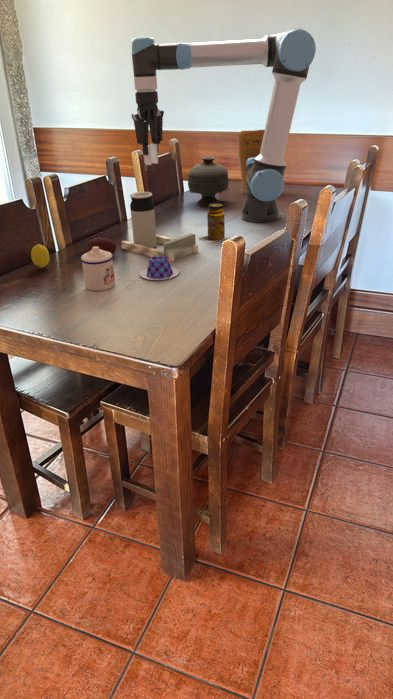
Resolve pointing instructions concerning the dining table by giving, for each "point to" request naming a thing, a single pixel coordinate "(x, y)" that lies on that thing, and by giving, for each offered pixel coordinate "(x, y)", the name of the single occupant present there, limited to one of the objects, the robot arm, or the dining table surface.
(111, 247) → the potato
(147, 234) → the travel mug
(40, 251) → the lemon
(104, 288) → the teacup with lid
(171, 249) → the rail channel
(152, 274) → the pudding
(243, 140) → the pancake mix bag
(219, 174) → the pot
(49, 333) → the dining table surface
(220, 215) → the condiment
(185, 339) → the dining table surface
